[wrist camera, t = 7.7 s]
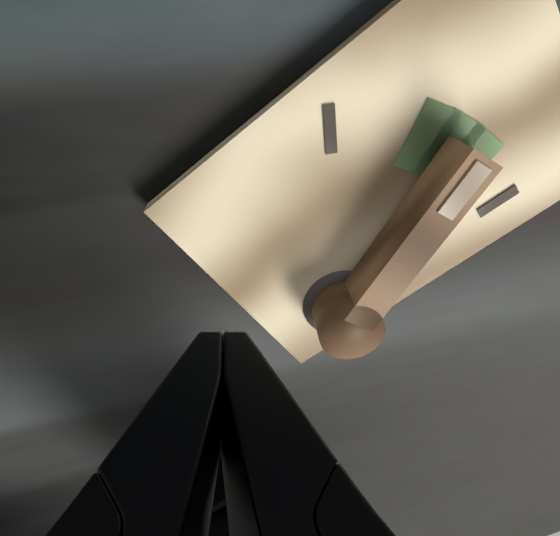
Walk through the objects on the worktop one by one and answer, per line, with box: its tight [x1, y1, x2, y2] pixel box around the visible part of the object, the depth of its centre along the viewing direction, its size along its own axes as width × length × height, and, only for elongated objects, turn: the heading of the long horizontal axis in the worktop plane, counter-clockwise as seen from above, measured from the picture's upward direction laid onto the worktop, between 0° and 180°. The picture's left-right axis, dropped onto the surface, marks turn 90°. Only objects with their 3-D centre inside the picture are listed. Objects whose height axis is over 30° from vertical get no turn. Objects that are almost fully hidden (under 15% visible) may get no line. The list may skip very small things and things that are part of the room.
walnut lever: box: [312, 136, 503, 359], centre depth 20 cm, size 11×3×2 cm, turn 150°
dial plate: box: [144, 0, 560, 363], centre depth 20 cm, size 12×18×1 cm, turn 127°
